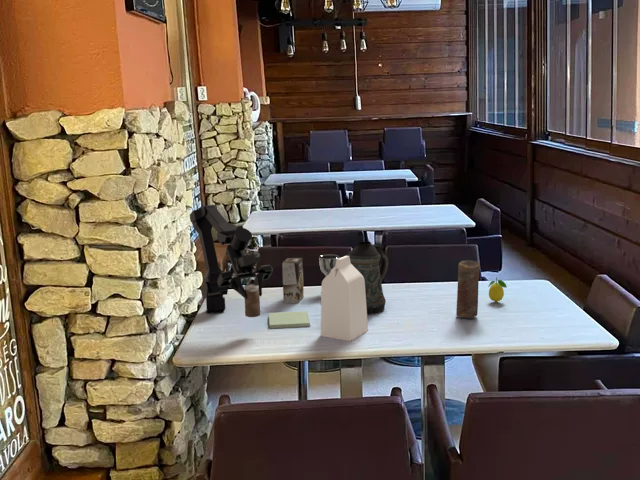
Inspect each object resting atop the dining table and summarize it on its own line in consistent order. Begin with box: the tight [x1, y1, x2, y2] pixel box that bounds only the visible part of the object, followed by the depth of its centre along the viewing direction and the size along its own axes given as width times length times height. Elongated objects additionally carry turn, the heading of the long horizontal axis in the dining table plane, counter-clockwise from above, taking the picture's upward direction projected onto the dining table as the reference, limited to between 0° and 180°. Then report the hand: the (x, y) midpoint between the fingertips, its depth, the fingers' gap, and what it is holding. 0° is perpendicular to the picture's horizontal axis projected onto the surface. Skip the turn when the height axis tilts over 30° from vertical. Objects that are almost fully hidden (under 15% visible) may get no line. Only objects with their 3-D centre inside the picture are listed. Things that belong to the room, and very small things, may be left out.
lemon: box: [488, 277, 508, 303], centre depth 269 cm, size 7×6×10 cm
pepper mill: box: [244, 283, 261, 318], centre depth 239 cm, size 5×5×10 cm
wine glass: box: [318, 254, 340, 277], centre depth 288 cm, size 8×8×15 cm
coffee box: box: [281, 257, 305, 304], centre depth 279 cm, size 9×6×16 cm
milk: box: [320, 255, 369, 342], centre depth 237 cm, size 12×12×26 cm
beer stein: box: [346, 241, 389, 316], centre depth 266 cm, size 16×19×25 cm
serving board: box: [268, 310, 311, 329], centre depth 254 cm, size 14×14×1 cm
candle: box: [455, 259, 480, 320], centre depth 251 cm, size 8×7×20 cm
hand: (253, 296), depth 237 cm, fingers closed on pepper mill, 5 cm apart
